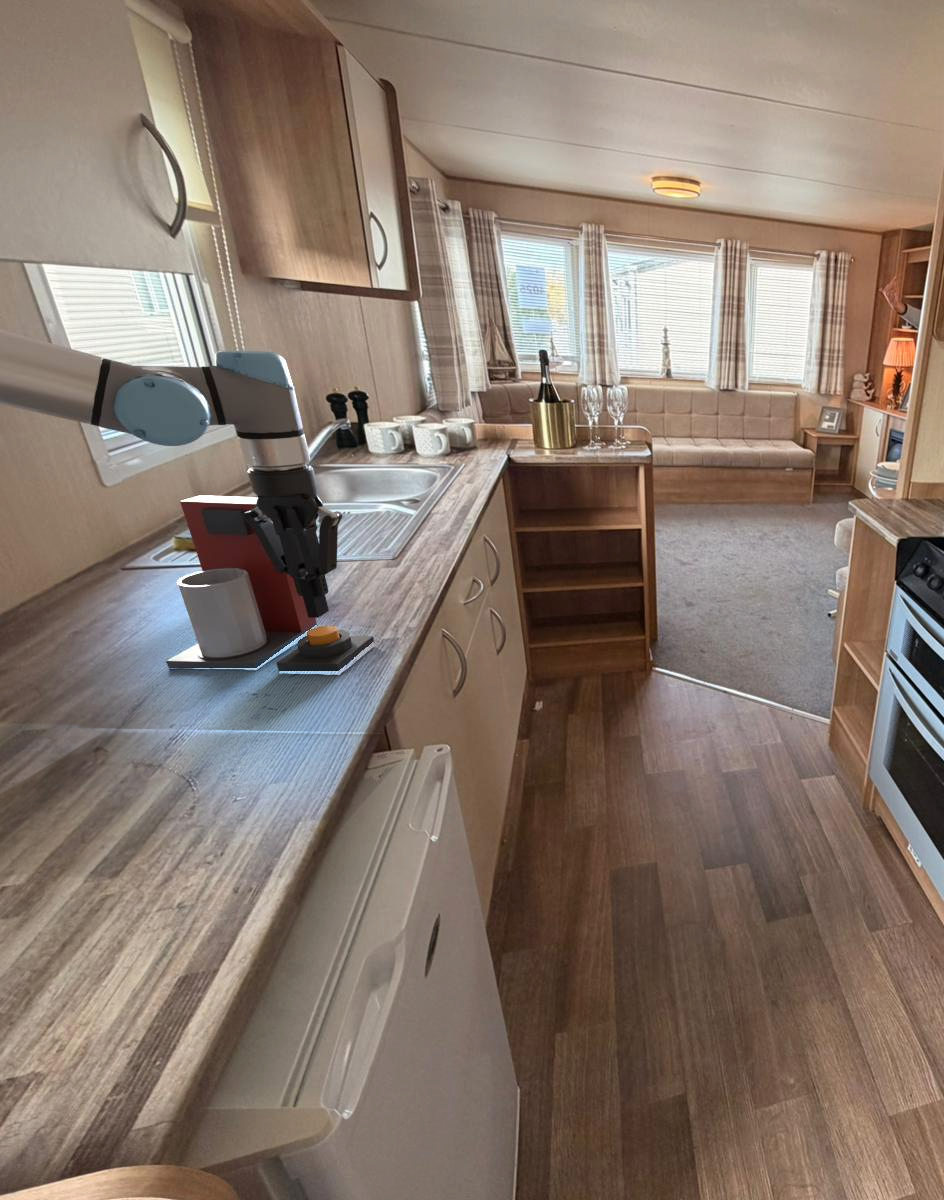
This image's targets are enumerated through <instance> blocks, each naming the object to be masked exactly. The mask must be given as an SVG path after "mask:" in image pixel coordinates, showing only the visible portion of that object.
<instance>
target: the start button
mask: <svg viewBox="0 0 944 1200" xmlns="http://www.w3.org/2000/svg"><path fill="white" fill-rule="evenodd" d="M338 630H339V629H338V627H337V626H335V625H321V626H318V627H317V628H314V629H311V630H309V631H308V632H307V636H308V640H309V643H310V645H323V644H329V643H332V642H335V641H337V640H339V639H340V637H339V633H338Z"/></svg>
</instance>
